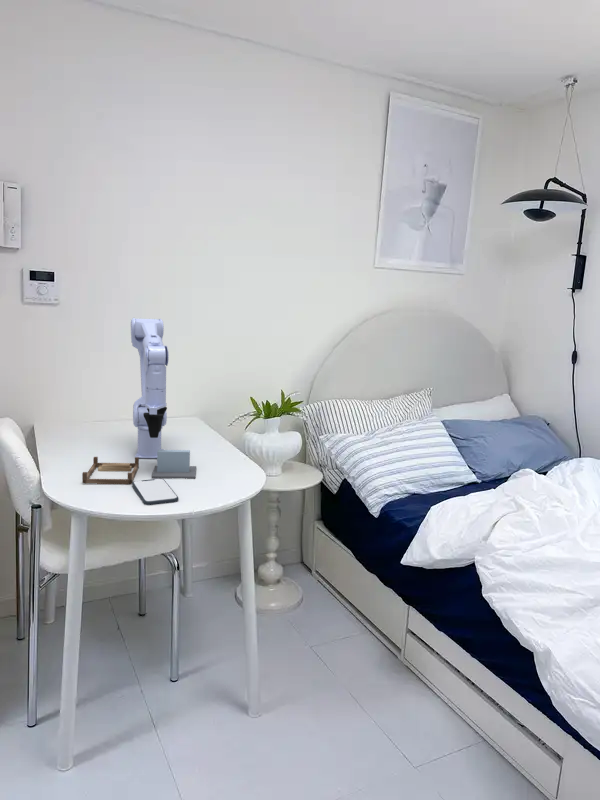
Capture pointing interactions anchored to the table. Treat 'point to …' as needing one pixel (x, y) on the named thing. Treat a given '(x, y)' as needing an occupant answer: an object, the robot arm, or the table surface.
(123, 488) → the table surface
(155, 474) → the mat
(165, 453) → the panel
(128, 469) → the offcut stack
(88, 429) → the table surface
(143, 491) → the phone case
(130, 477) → the frame
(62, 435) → the table surface
